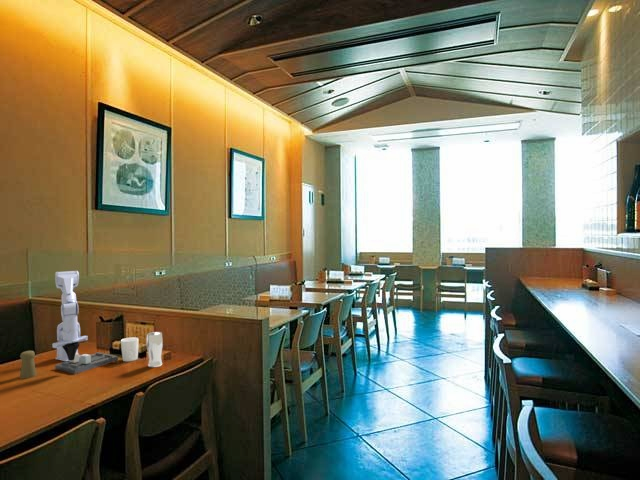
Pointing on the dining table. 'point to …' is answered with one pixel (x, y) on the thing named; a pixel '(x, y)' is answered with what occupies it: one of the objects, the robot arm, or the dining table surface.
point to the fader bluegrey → (85, 358)
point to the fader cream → (75, 358)
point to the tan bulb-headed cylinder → (27, 365)
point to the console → (78, 367)
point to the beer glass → (154, 348)
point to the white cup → (129, 348)
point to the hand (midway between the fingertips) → (71, 359)
